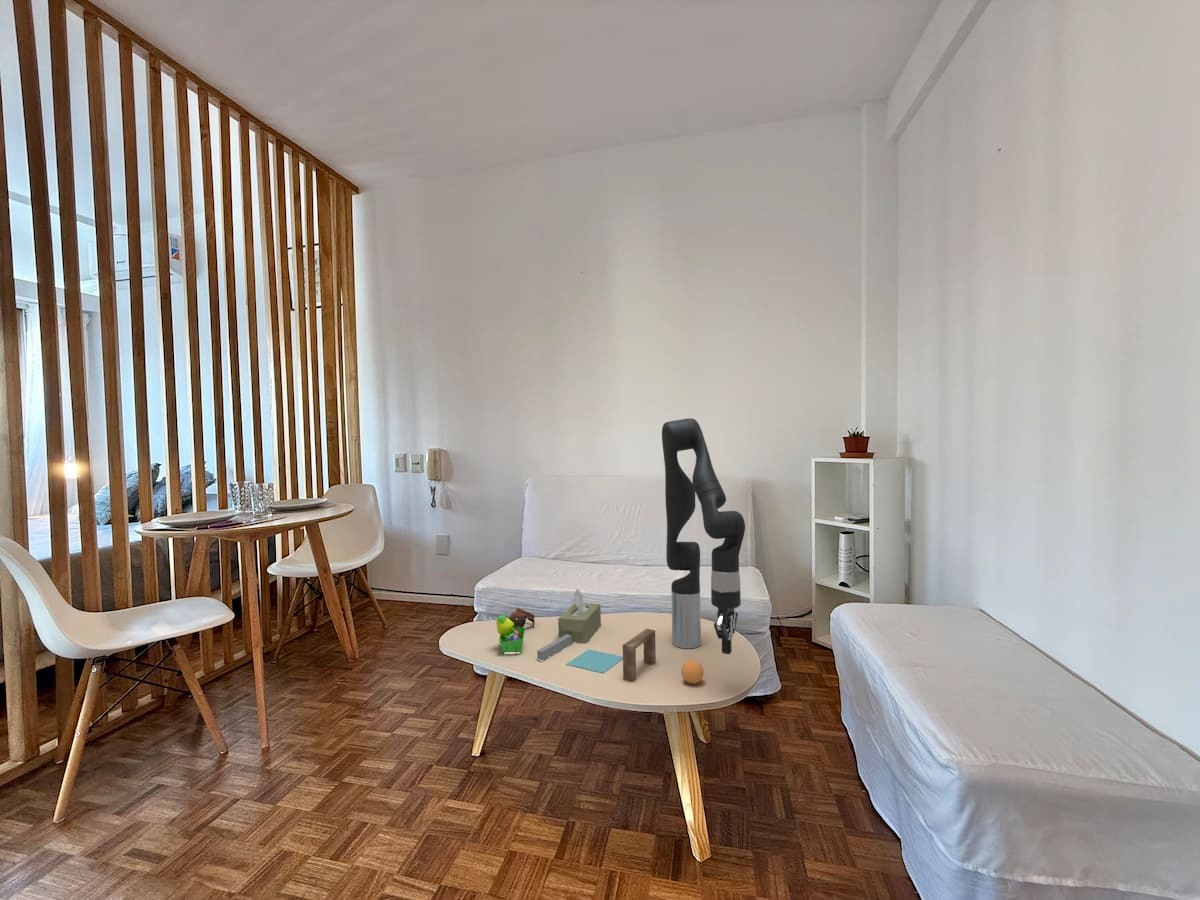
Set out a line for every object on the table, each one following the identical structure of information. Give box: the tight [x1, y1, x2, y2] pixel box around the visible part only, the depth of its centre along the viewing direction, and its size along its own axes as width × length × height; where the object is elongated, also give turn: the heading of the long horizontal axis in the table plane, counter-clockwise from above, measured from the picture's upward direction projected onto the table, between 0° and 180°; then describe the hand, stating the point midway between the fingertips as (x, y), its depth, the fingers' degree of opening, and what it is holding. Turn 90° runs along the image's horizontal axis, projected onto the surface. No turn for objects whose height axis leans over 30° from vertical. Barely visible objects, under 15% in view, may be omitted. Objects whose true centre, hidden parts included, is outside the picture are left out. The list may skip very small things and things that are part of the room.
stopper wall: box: [536, 634, 573, 660], centre depth 170 cm, size 16×2×3 cm, turn 149°
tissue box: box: [557, 588, 602, 644], centre depth 187 cm, size 19×10×16 cm, turn 165°
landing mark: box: [566, 648, 623, 674], centre depth 163 cm, size 13×13×1 cm
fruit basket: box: [495, 614, 526, 653], centre depth 173 cm, size 11×9×11 cm
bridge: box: [622, 628, 657, 683], centre depth 155 cm, size 3×15×10 cm, turn 149°
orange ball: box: [680, 659, 704, 684], centre depth 147 cm, size 6×6×6 cm
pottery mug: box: [508, 607, 536, 628], centre depth 192 cm, size 12×10×8 cm
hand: (726, 652), depth 141 cm, fingers closed
